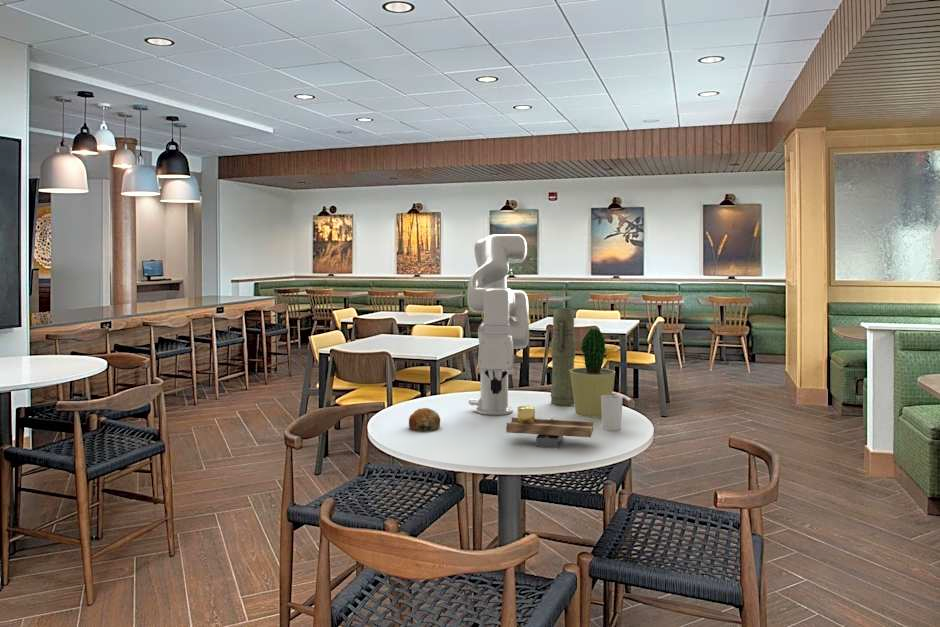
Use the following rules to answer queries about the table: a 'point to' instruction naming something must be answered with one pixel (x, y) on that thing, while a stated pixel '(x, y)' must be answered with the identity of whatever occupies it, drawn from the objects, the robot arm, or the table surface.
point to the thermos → (562, 357)
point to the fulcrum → (548, 441)
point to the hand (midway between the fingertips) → (496, 393)
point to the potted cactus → (591, 376)
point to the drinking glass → (611, 412)
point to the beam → (552, 427)
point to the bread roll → (424, 420)
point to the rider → (526, 415)
